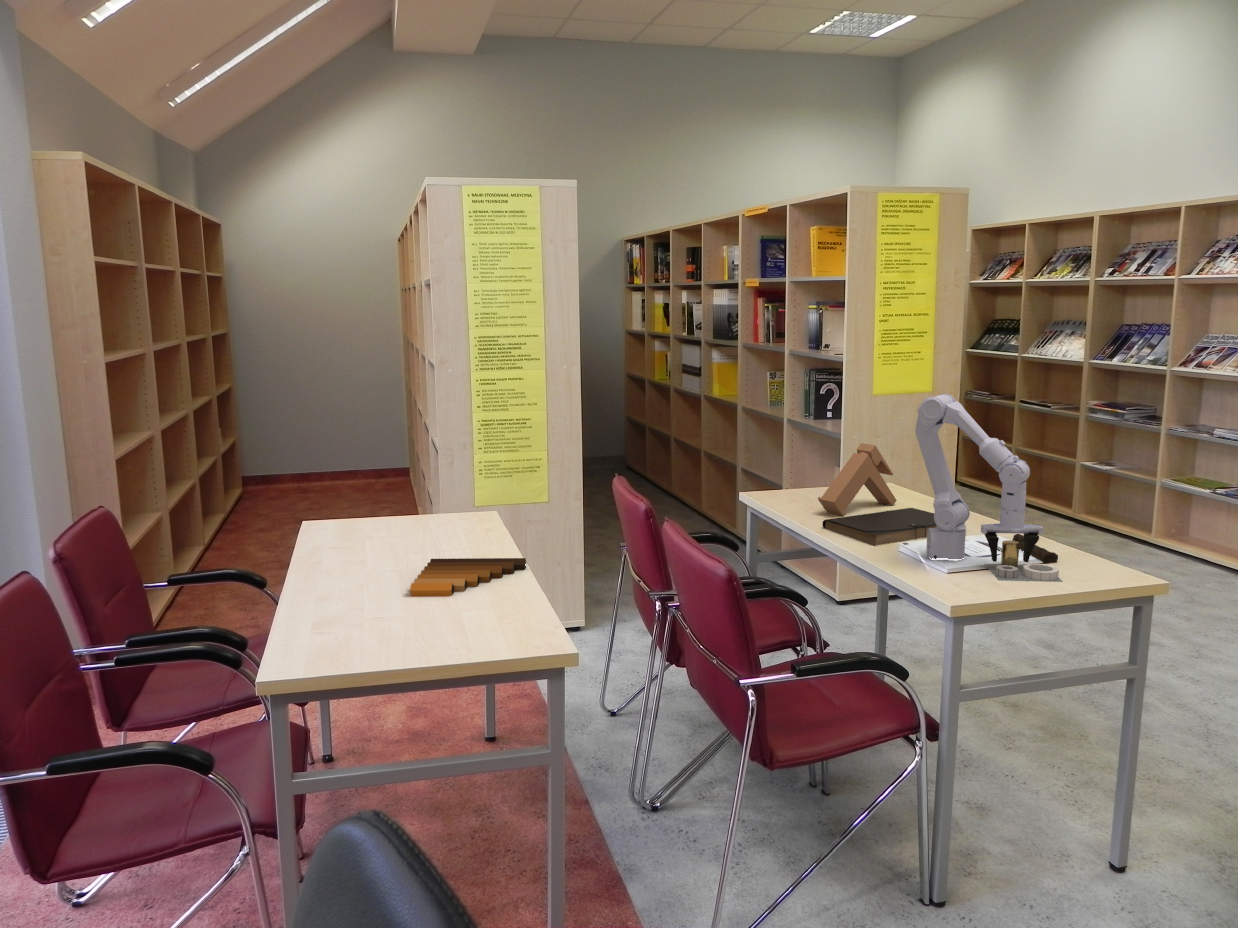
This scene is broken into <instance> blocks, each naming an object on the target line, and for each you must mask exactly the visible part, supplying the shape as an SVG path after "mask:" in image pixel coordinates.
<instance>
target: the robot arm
mask: <svg viewBox="0 0 1238 928" xmlns="http://www.w3.org/2000/svg"><path fill="white" fill-rule="evenodd" d="M944 424H950V425H955V426H957V427H958V428H959V429H960V430H961V431H962V432H963V433H964V434H965V435H966V436H968V437H969V438H970V439H971V441H973V443H975V444H976V446H978V451H979V452H978V453H979V455H980V456H981V457H982V458H983V459H984V460H985V461H986V462H987V463H988V464H989V466H991V468H992V469H994V471H996V472H997V473H998V477H999V480H1000V482H1001V493H1000V494H1001V498H1000V513H999V514H1000V515H999V523H989V524H980V532H981V534H984V536H985V539H986V541H987V544H988V547H989V550H990V554H991V555H990V556H991V560H992V562H994V563H995V562H996V563H997V562H998V545H999V539H1000V538H999V537H998V534H1020V535H1022V534H1023V536H1024V552H1023V551H1022V552H1023V553H1022V561H1023V562H1025V563H1029V560H1030V557H1031V555H1030V554H1031V552H1032V550H1033V548H1034V546H1035V545H1037V543H1038V541H1039V539H1040V536H1039V535H1044V534H1043V533H1044V527H1043V526H1042V525H1041V524H1038V525H1037V524H1026V523H1025V517H1026V503H1027V502H1026V501H1027V500H1026V499H1027V480H1028V479H1029V477H1030V475H1031V467H1030V466H1029V465H1028V463H1027V461H1025V460H1022V459H1020V457H1019V456H1018V455H1016V454H1015V455H1014V454H1013V453H1012V452H1011V451H1010V449H1008V447H1007V446H1005V445H1006V442H1005V441H1004V440H1003V439H1001V440H999V438H997V437H989V435H988V434H987V433H986V431H984V430H983V428H982V427H981V426H980V425H979V424H978V423H977V422H976V421H975V419H974V418H973V417H972V416H971V415H970V413H968V411H967V410H966V409H965V408H964V406H963V405H962V403H960V402H959V401H957V400H956V399H955V397H954V396H952V395H950V394H948V393H940V394H939V395H935V396H929V397H926V398H925V399H924V400H922V402H921V403H920V406H918V407H917V419H916V424H915V430H914V432H915V436H916V440H917V442H918V446H919V449H920V452H921V455H922V458H923V461H924V464H925V467H926V471H927V473H928V474H927V475H928V477H929V480H930V483H931V487H932V490H933V493H934V499H933V510H934V521H935V523H936V525H937V527H936V528H929V529H928V532H927V537H926V549H925V550H926V551H925V553H927V555H926V556H927V557H928V556H929V557H930V558H931V559H932V558H948V559H962V558H964V559H965V554H966V553H965V551H966V547H965V546H966V534H967V527H966V525H965V524H966V522H967V521H968V520H969V518H970V514H971V512H970V508H969V506H968V505H967V503H965V502H964V500H963V498H962V495H961V494H960V492H958V491H957V490H956V486H955V483H954V480H953V478H952V475H951V471H950V469H949V465H948V462H947V459H946V455H945V451H944V449H943V446H942V443H941V440H940V437H939V431H940V429H941V428H942V426H943V425H944Z"/></svg>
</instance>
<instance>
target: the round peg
mask: <svg viewBox="0 0 1238 928" xmlns="http://www.w3.org/2000/svg"><path fill="white" fill-rule="evenodd" d="M1019 554H1020V549H1019V542H1016V541H1012V540H1003V541H1002V542H1001V559H1000V564H1001V566H1002V565H1008V566H1014V567H1017V568H1018V565H1019Z"/></svg>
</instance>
